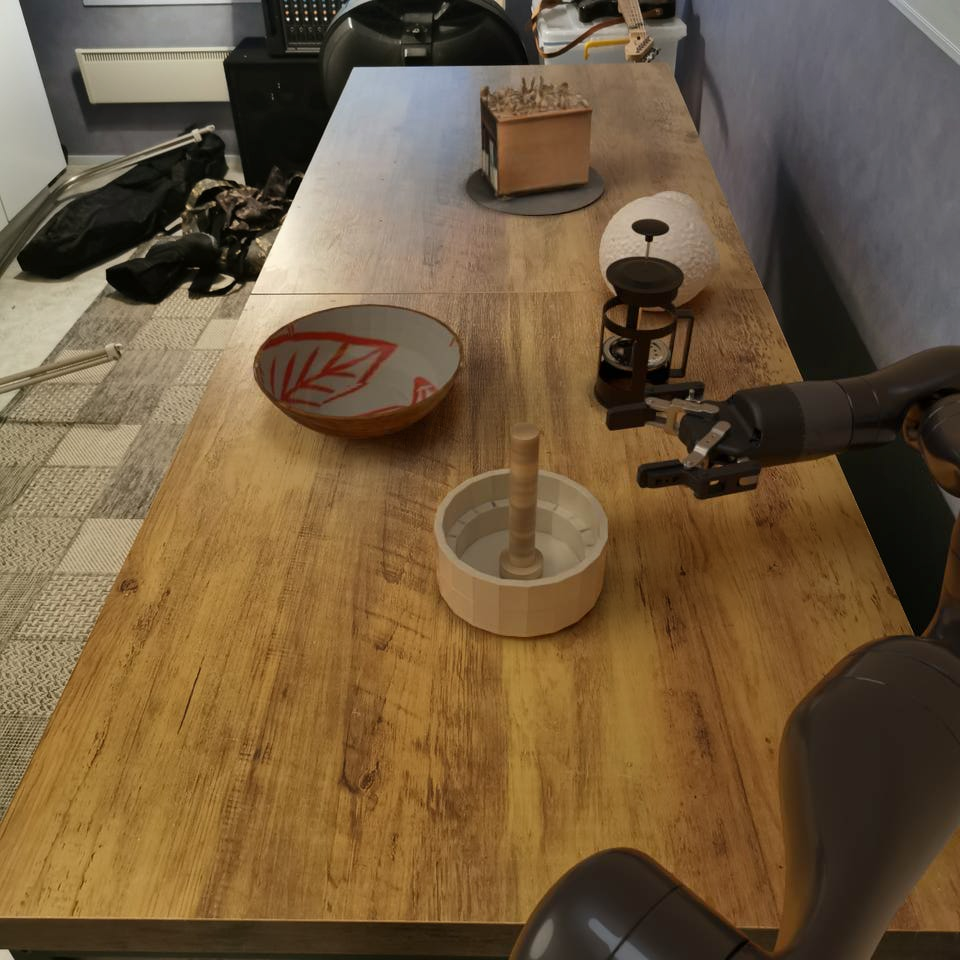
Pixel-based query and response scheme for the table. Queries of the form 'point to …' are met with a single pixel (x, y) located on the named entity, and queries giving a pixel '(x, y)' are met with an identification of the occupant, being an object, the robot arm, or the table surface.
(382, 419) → the bowl
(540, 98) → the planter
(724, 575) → the table surface
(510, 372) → the table surface
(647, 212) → the decorative orb
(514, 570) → the wooden pestle
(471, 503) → the cream open cylinder
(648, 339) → the french press
